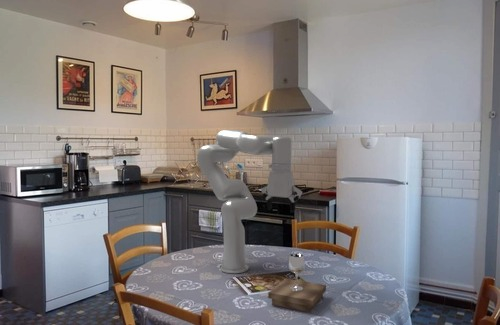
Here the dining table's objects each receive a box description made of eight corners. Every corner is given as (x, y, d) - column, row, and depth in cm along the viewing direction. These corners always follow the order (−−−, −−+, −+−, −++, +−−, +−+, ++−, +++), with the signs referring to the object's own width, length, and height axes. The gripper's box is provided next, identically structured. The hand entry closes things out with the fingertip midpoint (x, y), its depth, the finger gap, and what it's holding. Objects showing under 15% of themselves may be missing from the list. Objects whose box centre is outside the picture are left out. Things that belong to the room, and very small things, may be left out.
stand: (268, 305, 136) (268, 292, 136) (285, 289, 150) (285, 278, 150) (312, 314, 129) (312, 300, 129) (326, 297, 143) (326, 285, 143)
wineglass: (287, 285, 142) (287, 253, 142) (302, 285, 143) (302, 252, 142) (290, 291, 136) (290, 257, 136) (306, 291, 137) (306, 257, 137)
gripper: (257, 167, 155) (257, 210, 156) (298, 169, 146) (297, 214, 148) (265, 166, 161) (265, 207, 162) (305, 168, 153) (304, 211, 154)
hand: (280, 210), depth 155 cm, fingers open, 9 cm apart
